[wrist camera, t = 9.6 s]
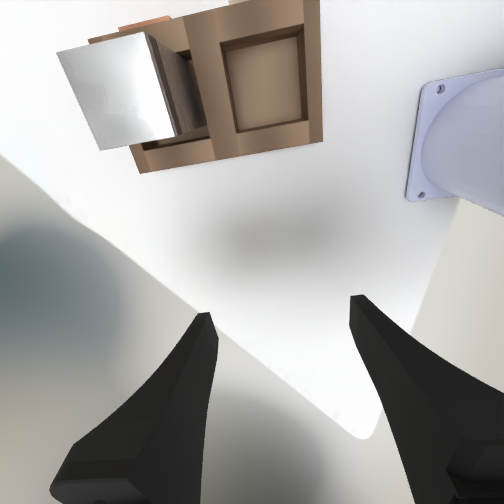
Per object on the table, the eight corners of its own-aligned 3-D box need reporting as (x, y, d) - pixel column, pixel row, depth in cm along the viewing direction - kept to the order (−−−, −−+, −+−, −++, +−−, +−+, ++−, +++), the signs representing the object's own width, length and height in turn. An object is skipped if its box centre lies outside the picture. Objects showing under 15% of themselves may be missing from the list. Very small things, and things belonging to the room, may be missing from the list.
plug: (194, 64, 16) (143, 30, 9) (208, 124, 17) (175, 136, 10) (142, 75, 16) (55, 52, 9) (161, 133, 18) (99, 151, 11)
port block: (307, -2, 14) (318, -26, 12) (313, 136, 18) (322, 141, 15) (113, 44, 15) (84, 31, 13) (155, 164, 19) (140, 173, 16)
